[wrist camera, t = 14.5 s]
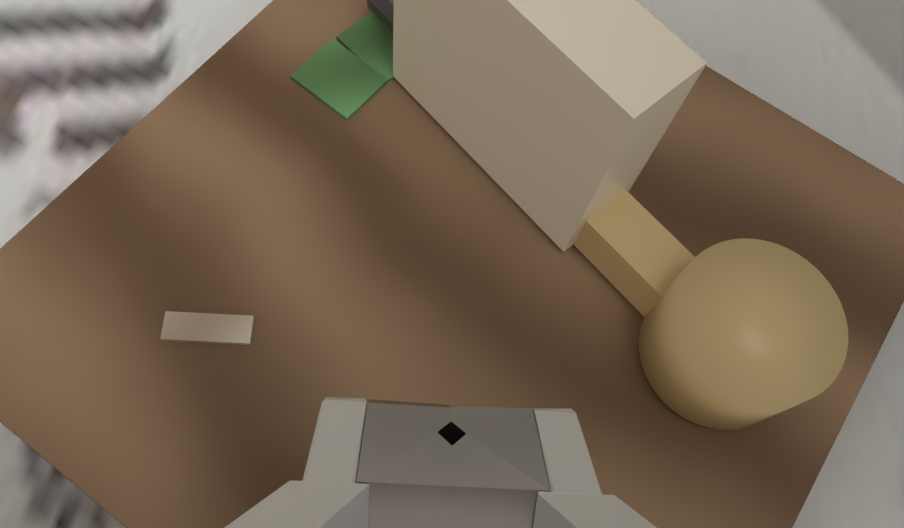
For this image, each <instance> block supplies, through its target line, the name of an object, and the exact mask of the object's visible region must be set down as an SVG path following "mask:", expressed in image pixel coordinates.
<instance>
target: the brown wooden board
mask: <svg viewBox="0 0 904 528" xmlns="http://www.w3.org/2000/svg"><path fill="white" fill-rule="evenodd" d="M389 1H390V2H391V3H392V4H393V5H394V0H389ZM629 193H630V194H631V195H632V196H633V197H634V198H635V199H636V200H637V201H638V202H639V203H640V204H641V205H642V206H643V207H644V208H645V209H646V210H647V211H648V212H649V213H650V214H651V215H652V216H653V217H654V218H655V219H656V220H657V221H658V222H659V223H661V224H662V225H663V226H664V227H665V228H666V229H667V230H668V231H669V232H670V233H671V234H672V235H673V236H674V237H675V238H676V239H677V240H678V241H679V242H680V243H681V244H682V245H683V246H684V247H685V248H686V249H687V250H688V251H689V252H690V253H691V254H692V255H693V256H694V257H696V256H697V255H699V254H700V253H701V252H703V251H704V250H705V249H707V248H709V247H711V246H713V245H715V244H718V243H720V242H723V241H727V240H732V239H742V238H748V239H759V240H765V241H769V242H772V243H776V244H778V245H781V246H783V247H786V248H788V249H790V250H792V251H794V252H796V253H797V254H799V255H800V256H802V257H803V258H805V259H806V260H807V261H809V262H810V263H811V264H812V265H813V266H815V267H816V268H817V269H818V270H819V271H820V272H821V273H822V275H823V276H824V277H825V278H826V279H827V281H828V282H829V283H830V284H831V286H832V288H833V289H834V291H835V292H836V294H837V296H838V298H839V300H840V302H841V304H842V307H843V310H844V313H845V316H846V321H847V326H848V337H849V338H848V350H847V355H846V359H845V362H844V364H843V367H842V369H841V371H840V373H839V374H838V376H837V378H836V379H835V380H834V381H833V383H832V384H831V385H830V386H829V387H828V388H827V389H826V390H824V391H823V392H822V393H820V394H819V395H817V396H816V397H814V398H812V399H810V400H807V401H805V402H803V403H801V404H798V405H796V406H794V407H792V408H790V409H787V410H785V411H783V412H781V413H778V414H776V415H774V416H772V417H769V418H767V419H765V420H763V421H760V422H758V423H756V424H754V425H751V426H749V427H745V428H741V429H735V430H718V429H711V428H707V427H703V426H700V425H697V424H695V423H693V422H690V421H688V420H687V419H685V418H683V417H681V416H680V415H678V414H677V413H676V412H674V411H673V410H672V409H670V408H669V407H668V406H667V405H666V404H665V403H664V402H663V401H662V400H661V399H660V397H659V396H658V395H657V394H656V393H655V391H654V390H653V388H652V387H651V385H650V383H649V381H648V379H647V377H646V375H645V373H644V370H643V367H642V364H641V360H640V355H639V333H640V328H641V324H642V321H643V318H644V316H643V315H642V314H641V313H640V312H639V311H638V310H637V309H636V308H635V307H634V306H633V305H632V304H631V303H630V302H629V301H628V300H627V299H626V298H625V297H624V296H623V295H622V294H621V293H620V292H619V291H618V290H617V289H616V288H615V287H614V286H613V285H612V284H611V282H610V281H609V280H608V279H607V278H606V277H605V276H604V275H603V274H602V273H601V272H600V271H599V270H598V269H597V268H596V267H595V266H594V265H593V264H592V263H591V262H590V261H589V260H588V259H587V258H586V257H585V256H584V255H583V254H582V253H581V252H580V251H579V250H578V249H577V248H576V247H575V246H574V245H572V246H571V247H570V248H568V249H567V250H566V251H565V252H563V251H562V250H561V249H560V248H559V247H558V246H557V245H556V244H555V243H554V242H553V240H552V239H551V238H550V237H549V236H548V235H547V234H546V233H545V232H544V231H543V230H542V229H541V228H540V227H539V226H538V225H537V224H536V223H535V222H534V221H533V220H532V219H531V218H530V217H529V216H528V215H527V214H526V213H525V212H524V211H523V210H522V209H521V208H520V206H519V205H518V204H517V203H516V202H515V201H514V200H513V199H512V198H511V197H510V196H509V195H508V194H507V193H506V192H505V191H504V190H503V189H502V188H501V187H500V186H499V185H498V184H497V183H496V182H495V181H494V180H493V179H492V178H491V177H490V176H489V175H488V174H487V172H486V171H485V170H484V169H483V168H482V167H481V166H480V165H479V164H478V163H477V162H476V161H475V160H474V159H473V158H472V157H471V156H470V155H469V154H468V153H467V152H466V151H465V150H464V149H463V148H462V147H461V146H460V145H459V144H458V143H457V142H456V141H455V140H454V138H453V137H452V136H451V135H450V134H449V133H448V132H447V131H446V130H445V129H444V128H443V127H442V126H441V125H440V124H439V123H438V122H437V121H436V120H435V119H434V118H433V117H432V116H431V115H430V114H429V113H428V112H427V111H426V110H425V109H424V108H423V107H422V105H421V104H420V103H419V102H418V101H417V100H416V99H415V98H414V97H413V96H412V95H411V94H410V93H409V92H408V91H407V90H406V89H405V88H404V87H403V86H402V85H401V84H400V83H399V82H398V81H397V80H396V79H395V78H394V77H393V32H392V31H391V30H390V29H389V28H388V27H387V26H386V25H385V24H384V23H383V22H382V21H381V20H380V19H379V18H378V17H377V16H376V15H375V14H374V13H373V12H372V11H371V10H370V9H369V8H368V7H367V0H273V1H272V2H271V3H270V4H269V5H268V6H267V7H266V8H265V9H263V10H262V11H261V12H260V13H259V14H258V15H257V16H256V17H255V18H254V19H252V20H251V21H250V22H249V23H248V24H247V25H246V26H245V27H244V28H243V29H241V30H240V31H239V32H238V33H237V34H236V35H235V36H234V37H233V38H232V39H230V40H229V41H228V42H227V43H226V44H225V45H224V46H223V47H222V48H221V49H219V50H218V51H217V52H216V53H215V54H214V55H213V56H212V57H211V58H210V59H208V60H207V61H206V62H205V63H204V64H203V65H202V66H201V67H200V68H199V69H197V70H196V71H195V72H194V73H193V74H192V75H191V76H190V77H189V78H188V79H187V80H185V81H184V82H183V83H182V84H181V85H180V86H179V87H178V88H177V89H176V90H174V91H173V92H172V93H171V94H170V95H169V96H168V97H167V98H166V99H165V100H163V101H162V102H161V103H160V104H159V105H158V106H157V107H156V108H155V109H154V110H152V111H151V112H150V113H149V114H148V115H147V116H146V117H145V118H144V119H143V120H141V121H140V122H139V123H138V124H137V125H136V126H135V127H134V128H133V129H132V130H130V131H129V132H128V133H127V134H126V135H125V136H124V137H123V138H122V139H121V140H119V141H118V142H117V143H116V144H115V145H114V146H113V147H112V148H111V149H110V150H108V151H107V152H106V153H105V154H104V155H103V156H102V157H101V158H100V159H99V160H97V161H96V162H95V163H94V164H93V165H92V166H91V167H90V168H89V169H88V170H86V171H85V172H84V173H83V174H82V175H81V176H80V177H79V178H78V179H77V180H75V181H74V182H73V183H72V184H71V185H70V186H69V187H68V188H67V189H66V190H64V191H63V192H62V193H61V194H60V195H59V196H58V197H57V198H56V199H55V200H53V201H52V202H51V203H50V204H49V205H48V206H47V207H46V208H45V209H44V210H42V211H41V212H40V213H39V214H38V215H37V216H36V217H35V218H34V219H33V220H32V221H30V222H29V223H28V224H27V225H26V226H25V227H24V228H23V229H22V230H21V231H19V232H18V233H17V234H16V235H15V236H14V237H13V238H12V239H11V240H10V241H8V242H7V243H6V244H5V245H4V246H3V247H2V248H1V249H0V422H1V423H2V424H4V425H5V426H6V427H7V428H8V429H10V430H11V431H12V432H13V433H14V434H16V435H17V436H18V437H19V438H20V439H21V440H23V441H24V442H25V443H26V444H27V445H29V446H30V447H31V448H32V449H33V450H35V451H36V452H37V453H38V454H39V455H41V456H42V457H43V458H44V459H45V460H46V461H48V462H49V463H50V464H51V465H52V466H54V467H55V468H56V469H57V470H58V471H60V472H61V473H62V474H63V475H64V476H65V477H67V478H68V479H69V480H70V481H71V482H73V483H74V484H75V485H76V486H77V487H79V488H80V489H81V490H82V491H83V492H85V493H86V494H87V495H88V496H89V497H90V498H92V499H93V500H94V501H95V502H96V503H98V504H99V505H100V506H101V507H102V508H104V509H105V510H106V511H107V512H108V513H110V514H111V515H112V516H113V517H114V518H115V519H117V520H118V521H119V522H120V523H121V524H123V525H124V526H125V527H126V528H224V527H226V526H227V525H229V524H230V523H231V522H233V521H234V520H236V519H237V518H238V517H240V516H241V515H242V514H244V513H245V512H247V511H248V510H249V509H251V508H252V507H254V506H255V505H256V504H258V503H259V502H260V501H262V500H263V499H265V498H266V497H267V496H269V495H270V494H272V493H273V492H274V491H276V490H277V489H279V488H280V487H281V486H283V485H284V484H285V483H287V482H288V481H290V480H292V481H302V480H303V476H304V472H305V468H306V464H307V460H308V456H309V452H310V448H311V444H312V440H313V436H314V432H315V428H316V424H317V420H318V416H319V412H320V408H321V404H322V401H323V400H324V399H325V398H326V397H341V398H365V399H366V400H367V402H368V400H369V399H374V400H388V401H402V402H416V403H430V404H445V405H450V406H461V407H500V408H567V409H572V410H574V411H575V412H576V414H577V417H578V420H579V423H580V426H581V430H582V433H583V436H584V439H585V442H586V445H587V448H588V452H589V455H590V458H591V461H592V464H593V467H594V470H595V473H596V477H597V480H598V483H599V486H600V489H601V492H602V494H603V495H615V496H616V497H618V498H619V499H620V500H622V501H623V502H624V503H625V504H627V505H628V506H629V507H631V508H632V509H633V510H635V511H636V512H637V513H638V514H640V515H641V516H642V517H644V518H645V519H646V520H648V521H649V522H650V523H651V524H653V525H654V526H655V527H657V528H792V527H793V525H794V523H795V521H796V519H797V517H798V515H799V513H800V511H801V509H802V507H803V504H804V502H805V500H806V498H807V496H808V494H809V492H810V490H811V488H812V486H813V484H814V482H815V480H816V478H817V476H818V474H819V472H820V470H821V468H822V466H823V464H824V462H825V460H826V458H827V456H828V454H829V452H830V450H831V448H832V446H833V444H834V441H835V439H836V437H837V435H838V433H839V431H840V429H841V427H842V425H843V423H844V421H845V419H846V417H847V415H848V413H849V411H850V409H851V407H852V405H853V403H854V401H855V399H856V397H857V395H858V393H859V391H860V389H861V387H862V385H863V383H864V381H865V378H866V376H867V374H868V372H869V370H870V368H871V366H872V364H873V362H874V360H875V358H876V356H877V354H878V352H879V350H880V348H881V346H882V344H883V342H884V340H885V338H886V336H887V334H888V332H889V330H890V328H891V326H892V324H893V322H894V320H895V318H896V316H897V313H898V311H899V309H900V307H901V305H902V303H903V301H904V184H903V183H901V182H900V181H898V180H896V179H895V178H893V177H891V176H889V175H888V174H886V173H884V172H883V171H881V170H879V169H878V168H876V167H874V166H873V165H871V164H869V163H868V162H866V161H864V160H863V159H861V158H859V157H858V156H856V155H854V154H853V153H851V152H849V151H848V150H846V149H844V148H843V147H841V146H839V145H838V144H836V143H834V142H833V141H831V140H829V139H828V138H826V137H824V136H822V135H821V134H819V133H817V132H816V131H814V130H812V129H811V128H809V127H807V126H806V125H804V124H802V123H801V122H799V121H797V120H796V119H794V118H792V117H791V116H789V115H787V114H786V113H784V112H782V111H781V110H779V109H777V108H776V107H774V106H772V105H771V104H769V103H767V102H766V101H764V100H762V99H760V98H759V97H757V96H755V95H754V94H752V93H750V92H749V91H747V90H745V89H744V88H742V87H740V86H739V85H737V84H735V83H734V82H732V81H730V80H729V79H727V78H725V77H724V76H722V75H720V74H719V73H717V72H715V71H714V70H712V69H710V68H709V67H707V66H705V67H704V69H703V70H702V72H701V74H700V75H699V77H698V79H697V80H696V82H695V84H694V85H693V87H692V88H691V90H690V92H689V93H688V95H687V97H686V98H685V100H684V102H683V103H682V105H681V106H680V108H679V110H678V111H677V113H676V115H675V116H674V118H673V120H672V121H671V123H670V125H669V126H668V128H667V129H666V131H665V133H664V134H663V136H662V138H661V139H660V141H659V143H658V144H657V146H656V148H655V149H654V151H653V152H652V154H651V156H650V157H649V159H648V161H647V162H646V164H645V166H644V167H643V169H642V170H641V172H640V174H639V175H638V177H637V179H636V180H635V182H634V184H633V185H632V187H631V189H630V190H629Z"/></svg>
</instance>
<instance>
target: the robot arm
mask: <svg viewBox="0 0 904 528" xmlns="http://www.w3.org/2000/svg"><path fill="white" fill-rule="evenodd" d="M224 528H657V527H655V526H654V525H653V524H651V523H650V522H649V521H648V520H646V519H645V518H644V517H642V516H641V515H640V514H638V513H637V512H636V511H635V510H633V509H632V508H631V507H629V506H628V505H627V504H625V503H624V502H623V501H622V500H620V499H619V498H618V497H616V496H615V495H603V494H602V492H601V489H600V486H599V483H598V480H597V477H596V473H595V470H594V467H593V464H592V461H591V458H590V455H589V452H588V448H587V445H586V442H585V439H584V436H583V433H582V430H581V426H580V423H579V420H578V417H577V414H576V412H575V411H574V410H572V409H567V408H500V407H461V406H450V405H445V404H430V403H416V402H402V401H388V400H374V399H369V400H368V402H367V400H366V399H365V398H341V397H326V398H325V399H324V400H323V401H322V404H321V408H320V412H319V416H318V420H317V424H316V428H315V432H314V436H313V440H312V444H311V448H310V452H309V456H308V460H307V464H306V468H305V472H304V476H303V480H302V481H292V480H290V481H288V482H287V483H285V484H284V485H283V486H281V487H280V488H279V489H277V490H276V491H274V492H273V493H272V494H270V495H269V496H267V497H266V498H265V499H263V500H262V501H260V502H259V503H258V504H256V505H255V506H254V507H252V508H251V509H249V510H248V511H247V512H245V513H244V514H242V515H241V516H240V517H238V518H237V519H236V520H234V521H233V522H231V523H230V524H229V525H227V526H226V527H224Z"/></svg>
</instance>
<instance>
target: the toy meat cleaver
mask: <svg viewBox="0 0 904 528" xmlns="http://www.w3.org/2000/svg"><path fill="white" fill-rule="evenodd" d="M367 7H368V8H369V9H370V10H371V11H372V12H373V13H374V14H375V15H376V16H377V17H378V18H379V19H380V20H381V21H382V22H383V23H384V24H385V25H386V26H387V27H388V28H389V29H390V30H391V31H392V32H393V77H394V78H395V79H396V80H397V81H398V82H399V83H400V84H401V85H402V86H403V87H404V88H405V89H406V90H407V91H408V92H409V93H410V94H411V95H412V96H413V97H414V98H415V99H416V100H417V101H418V102H419V103H420V104H421V105H422V107H423V108H424V109H425V110H426V111H427V112H428V113H429V114H430V115H431V116H432V117H433V118H434V119H435V120H436V121H437V122H438V123H439V124H440V125H441V126H442V127H443V128H444V129H445V130H446V131H447V132H448V133H449V134H450V135H451V136H452V137H453V138H454V140H455V141H456V142H457V143H458V144H459V145H460V146H461V147H462V148H463V149H464V150H465V151H466V152H467V153H468V154H469V155H470V156H471V157H472V158H473V159H474V160H475V161H476V162H477V163H478V164H479V165H480V166H481V167H482V168H483V169H484V170H485V171H486V172H487V174H488V175H489V176H490V177H491V178H492V179H493V180H494V181H495V182H496V183H497V184H498V185H499V186H500V187H501V188H502V189H503V190H504V191H505V192H506V193H507V194H508V195H509V196H510V197H511V198H512V199H513V200H514V201H515V202H516V203H517V204H518V205H519V206H520V208H521V209H522V210H523V211H524V212H525V213H526V214H527V215H528V216H529V217H530V218H531V219H532V220H533V221H534V222H535V223H536V224H537V225H538V226H539V227H540V228H541V229H542V230H543V231H544V232H545V233H546V234H547V235H548V236H549V237H550V238H551V239H552V240H553V242H554V243H555V244H556V245H557V246H558V247H559V248H560V249H561V250H562V251H563V252H565V251H566V250H567V249H568V248H570V247H571V246H572V245H574V246H575V247H576V248H577V249H578V250H579V251H580V252H581V253H582V254H583V255H584V256H585V257H586V258H587V259H588V260H589V261H590V262H591V263H592V264H593V265H594V266H595V267H596V268H597V269H598V270H599V271H600V272H601V273H602V274H603V275H604V276H605V277H606V278H607V279H608V280H609V281H610V282H611V284H612V285H613V286H614V287H615V288H616V289H617V290H618V291H619V292H620V293H621V294H622V295H623V296H624V297H625V298H626V299H627V300H628V301H629V302H630V303H631V304H632V305H633V306H634V307H635V308H636V309H637V310H638V311H639V312H640V313H641V314H642V315H643V316H644V318H643V321H642V324H641V328H640V333H639V355H640V360H641V364H642V367H643V370H644V373H645V375H646V377H647V379H648V381H649V383H650V385H651V387H652V388H653V390H654V391H655V393H656V394H657V395H658V396H659V397H660V399H661V400H662V401H663V402H664V403H665V404H666V405H667V406H668V407H669V408H670V409H672V410H673V411H674V412H676V413H677V414H678V415H680V416H681V417H683V418H685V419H687V420H688V421H690V422H693V423H695V424H697V425H700V426H703V427H707V428H711V429H718V430H735V429H741V428H745V427H749V426H751V425H754V424H756V423H758V422H760V421H763V420H765V419H767V418H769V417H772V416H774V415H776V414H778V413H781V412H783V411H785V410H787V409H790V408H792V407H794V406H796V405H798V404H801V403H803V402H805V401H807V400H810V399H812V398H814V397H816V396H817V395H819V394H820V393H822V392H823V391H824V390H826V389H827V388H828V387H829V386H830V385H831V384H832V383H833V381H834V380H835V379H836V378H837V376H838V374H839V373H840V371H841V369H842V367H843V364H844V362H845V359H846V355H847V350H848V338H849V337H848V326H847V321H846V316H845V313H844V310H843V307H842V304H841V302H840V300H839V298H838V296H837V294H836V292H835V291H834V289H833V288H832V286H831V284H830V283H829V282H828V281H827V279H826V278H825V277H824V276H823V275H822V273H821V272H820V271H819V270H818V269H817V268H816V267H815V266H813V265H812V264H811V263H810V262H809V261H807V260H806V259H805V258H803V257H802V256H800V255H799V254H797V253H796V252H794V251H792V250H790V249H788V248H786V247H783V246H781V245H778V244H776V243H772V242H769V241H765V240H759V239H748V238H742V239H732V240H727V241H723V242H720V243H718V244H715V245H713V246H711V247H709V248H707V249H705V250H704V251H703V252H701V253H700V254H699V255H697V256H696V257H694V256H693V255H692V254H691V253H690V252H689V251H688V250H687V249H686V248H685V247H684V246H683V245H682V244H681V243H680V242H679V241H678V240H677V239H676V238H675V237H674V236H673V235H672V234H671V233H670V232H669V231H668V230H667V229H666V228H665V227H664V226H663V225H662V224H661V223H659V222H658V221H657V220H656V219H655V218H654V217H653V216H652V215H651V214H650V213H649V212H648V211H647V210H646V209H645V208H644V207H643V206H642V205H641V204H640V203H639V202H638V201H637V200H636V199H635V198H634V197H633V196H632V195H631V194H630V193H629V190H630V189H631V187H632V185H633V184H634V182H635V180H636V179H637V177H638V175H639V174H640V172H641V170H642V169H643V167H644V166H645V164H646V162H647V161H648V159H649V157H650V156H651V154H652V152H653V151H654V149H655V148H656V146H657V144H658V143H659V141H660V139H661V138H662V136H663V134H664V133H665V131H666V129H667V128H668V126H669V125H670V123H671V121H672V120H673V118H674V116H675V115H676V113H677V111H678V110H679V108H680V106H681V105H682V103H683V102H684V100H685V98H686V97H687V95H688V93H689V92H690V90H691V88H692V87H693V85H694V84H695V82H696V80H697V79H698V77H699V75H700V74H701V72H702V70H703V69H704V67H705V65H706V64H707V62H706V61H705V60H704V59H703V58H701V57H700V56H699V55H698V54H697V53H696V52H695V51H693V50H692V49H691V48H690V47H689V46H688V45H687V44H686V43H684V42H683V41H682V40H681V39H680V38H679V37H678V36H676V35H675V34H674V33H673V32H672V31H671V30H670V29H668V28H667V27H666V26H665V25H664V24H663V23H662V22H661V21H659V20H658V19H657V18H656V17H655V16H654V15H653V14H651V13H650V12H649V11H648V10H647V9H646V8H645V7H644V6H642V5H641V4H640V3H639V2H638V1H637V0H394V5H393V4H392V3H391V2H390V1H389V0H367Z"/></svg>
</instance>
